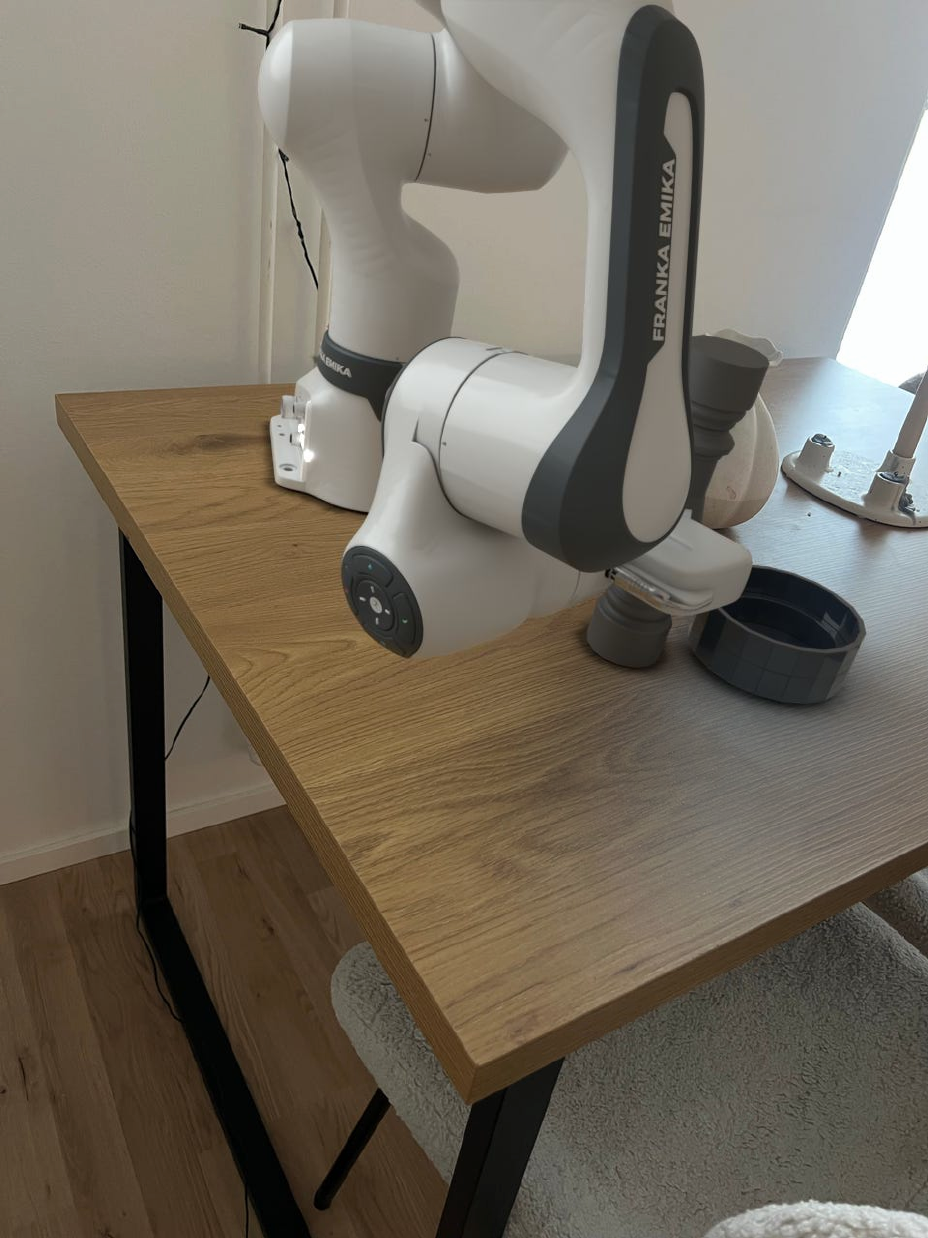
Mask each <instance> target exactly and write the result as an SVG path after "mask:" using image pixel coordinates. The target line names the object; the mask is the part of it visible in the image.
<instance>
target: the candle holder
mask: <svg viewBox="0 0 928 1238" xmlns="http://www.w3.org/2000/svg"><path fill="white" fill-rule="evenodd" d="M770 364H771V362H770V361H769V358H768V357H767V356H765V355H764V354H763V353H762V352H760V351H759V350H757V349H755V348H752V347H751V346H748V345H746V344H744V343H740V342H737V341H735V340H732V339H727V338H724V337H720V336H715V335H705V334H700V335H692V346H691V363H690V397H691V409H692V420H693V432H694V445H695V468H694V478H693V484H692V489H691V493H690V497H689V500H688V503H687V506H686V508H685V509H692V514H691V519H692V520H694V521H696V522H698V523H700V524H702V525H703V521H704V520H703V519H704V512H705V505H706V504H705V503H706V496H707V492H708V488H709V486H710V483H711V481H712V479H713V476H714V473H715V470H716V467H717V465H718V462H719V461H720V460H721V459H722V458H723V457H724V456H725V457H726V456H728V455H729V454H730V453H731V451H733V449H734V448H735V445H736V442H735V440H734V437H733V435H732V434H731V433H730V430H732V429H734V427H735V426H736V425H737V424H738V423H739V422H741V421H742V420H743V419H744V418H745V417H746V415H747V411H751V409H752V408H753V407H754V406H755V403H756V400H757V397H758V396H759V392H760V390H761V387H762V385H763V382H764V379H765V377H766V374H767V373H768V369H769V366H770ZM672 626H673V620H672V615H670V614H667V613H664V612H662V611H660V610H658V609H656V608H654V607H652V606H650V605H649V604H647V603H645V602H644V601H642V600H640V599H639V598H637V597H635V596H634V595H632V594H630V593H629V592H627V591H625V590H624V589H622V588H621V587H619V586H617V585H616V584H614V583H612V584H611V585H610V586H609V587H608V588H607V589H606V590H605V591H604V592H602V593H601V594H600V596H599V597H598V599H597V600H596V603H595V606H594V609H593V613H592V615H591V618H590V621H589V625H588V627H587V629H586V641H587V643H588V644H589V646H590V648H591V649H592V651H594V652H595V653H596V654H598V655H599V656H600V657H601V658H602V659H605V660H607V661H609V662H611V663H613V664H615V665H618V666H621V667H627V668H633V669H636V668H639V669H640V668H648V667H649V666H653V665H655V664H656V663H657V661H658V660H659V658H660V657H661V654H662V652H663V648H664V647H665V644H666V641H667V639H668V637H669V634H670V631H671V629H672Z"/></svg>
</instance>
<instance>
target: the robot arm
mask: <svg viewBox="0 0 928 1238" xmlns="http://www.w3.org/2000/svg"><path fill="white" fill-rule="evenodd" d="M413 1H414V2H415V3H416V4H417V5H418V6H419V7H421V8H422V9H423V10H424V11H426V12H427V13H428V14H430V15H431V16H433V18H435V20H437V21H438V22H439V23H440V24H441V26H442V27H443V29H442V30H440V31H438V32H432V31H431V32H423V31H418V30H413V29H408V28H403V27H397V26H394V25H393V26H392V25H388V24H387V25H386V24H381V23H377V22H376V23H375V22H372V21H368V20H367V21H366V20H361V19H356V18H350V17H326V18H322V17H320V18H305V19H303V18H302V19H291V20H289V21H288V22H287V23H285V24H284V25H282V27H281V28H280V29H279V30H278V31H277V32H276V34H274V36H273V38H272V39H271V41H270V42H269V44H268V46H267V47H266V49H265V52H264V54H263V57H262V60H261V63H260V66H259V72H258V77H257V78H258V80H257V97H258V105H259V109H260V115H261V117H262V120H263V123H264V126H265V128H266V131H267V132H268V134H269V136H270V137H271V139H272V141H273V143H274V144H275V145H276V147H277V148H278V149H279V150H280V151H281V153H283V154H284V156H286V157H287V158H288V159H289V160H290V161H291V162H292V163H293V164H294V166H295V167H296V168H297V169H298V171H300V173H301V174H302V175H303V177H304V179H305V180H306V182H307V183H308V184H309V186H310V187H311V189H312V191H313V192H314V194H315V197H316V198H317V200H318V203H319V205H320V206H321V210H322V213H323V215H324V218H325V221H326V224H327V229H328V233H329V238H330V245H331V256H332V257H331V261H332V262H331V264H332V266H331V268H332V269H331V270H332V271H331V272H332V273H331V299H330V310H329V311H330V313H329V322H328V324H327V325H326V328H327V329H326V330H325V331H324V333H323V337H322V340H321V341H320V343H319V348H318V356H317V359H316V366H315V367H314V368H313V369H311V370H310V371H309V372H308V373H306V374H304V375H302V377H300V378H299V379H297V381H296V383H295V389H294V395H288V394H284V395H282V396H281V399H280V414H277V415H274V416H272V417H271V418H270V422H269V436H270V446H271V454H272V455H271V457H272V465H273V474H274V482H275V483H276V485H278V486H281V487H283V488H286V489H289V490H294V491H299V492H301V493H306V494H309V495H311V496H313V497H316V498H318V499H320V500H322V501H324V502H326V503H329V504H331V505H335V506H337V507H340V508H344V509H349V510H353V511H357V512H358V511H359V512H364V513H367V516H366V518H365V520H364V522H363V523H362V525H361V526H360V527H359V528H358V530H357V531H356V532H355V534H354V535H353V537H352V538H351V539H350V541H349V542H348V544H347V545H346V547H345V549H344V551H343V555H342V559H341V563H340V578H341V586H342V589H343V593H344V596H345V600H346V603H347V605H348V607H349V609H350V612H351V613H352V615H353V617H354V618H355V619H356V621H357V623H358V624H359V625H360V626H361V628H362V630H363V631H364V632H365V634H367V635H368V636H369V637H370V638H371V639H372V640H373V641H374V642H375V643H377V644H378V645H380V646H381V647H383V648H384V649H386V650H387V651H390V652H392V653H393V654H395V655H397V656H399V657H401V658H404V659H407V660H430V659H435V658H437V659H438V658H441V657H446V656H449V655H454V654H458V653H461V652H465V651H468V650H470V649H473V648H476V647H479V646H481V645H484V644H487V643H489V642H492V641H494V640H496V639H499V638H501V637H503V636H506V635H507V634H510V633H511V632H513V631H515V630H516V629H518V628H519V627H520V626H521V625H522V624H523V623H524V622H525V621H526V620H535V619H543V618H546V617H550V616H552V615H554V614H557V613H560V612H562V611H564V610H566V609H569V608H571V607H574V606H577V605H579V604H581V603H583V602H586V601H589V600H590V599H593V598H595V597H597V596H599V595H602V594H603V593H604V592H605V590H606V589H607V588H608V587H609V586H610V585H611V584H612V583H614V584H616V585H617V586H619V587H621V588H622V589H624V590H625V591H627V592H629V593H630V594H632V595H634V596H635V597H637V598H639V599H640V600H642V601H644V602H645V603H647V604H649V605H650V606H652V607H654V608H656V609H658V610H660V611H662V612H664V613H667V614H670V615H671V616H675V617H676V616H677V617H686V616H687V617H689V616H693V615H695V614H699V613H703V612H707V611H710V610H714V609H717V608H720V607H723V606H725V605H728V604H730V603H733V602H734V601H736V600H737V599H738V598H739V597H740V596H741V594H742V592H743V590H744V588H745V586H746V583H747V581H748V578H749V575H750V572H751V569H752V565H754V563H753V562H754V561H753V556H752V553H751V551H750V550H749V549H748V548H746V546H744V545H742V544H739V543H738V542H735V541H733V540H732V539H730V538H728V537H726V536H724V535H722V534H721V533H719V532H717V531H715V530H713V529H711V528H709V527H707V526H705V525H704V524H703V523H702V524H700V523H698V522H696V521H694V520H692V519H691V514H692V509H685V508H686V506H687V503H688V500H689V497H690V493H691V489H692V484H693V478H694V468H695V445H694V432H693V420H692V409H691V397H690V363H691V346H692V336H693V330H694V329H693V328H694V317H695V315H694V314H695V299H696V287H697V286H696V285H697V283H696V282H697V272H698V270H697V269H698V257H699V256H698V255H699V243H700V241H699V240H700V225H701V212H702V211H701V209H702V195H703V176H704V159H705V157H704V155H705V133H706V131H705V129H706V128H705V127H706V126H705V125H706V96H705V95H706V94H705V93H706V91H705V89H706V88H705V76H704V66H703V60H702V55H701V51H700V48H699V44H698V42H697V40H696V38H695V35H694V34H693V32H692V31H691V30H690V28H689V27H688V26H686V25H685V23H683V22H682V21H681V20H680V19H678V17H676V16H677V15H676V13H675V8H674V4H673V0H413ZM569 152H570V153H571V154H572V156H573V158H574V159H575V161H576V163H577V166H578V168H579V171H580V174H581V175H582V176H581V177H582V179H583V183H584V187H585V195H586V203H587V224H586V225H587V227H586V249H585V270H584V295H583V317H582V318H583V319H582V320H583V322H582V341H581V342H582V345H581V355H580V360H579V364H578V366H577V367H576V366H573V365H568V364H565V363H561V362H556V361H554V360H553V361H552V360H548V359H545V358H541V357H536V356H532V355H530V354H528V353H526V352H524V351H523V352H522V351H520V350H516V349H513V348H508V347H504V346H500V345H496V344H492V343H486V342H482V341H477V340H473V339H468V338H466V337H462V336H452V329H453V325H454V324H453V323H454V317H455V312H456V307H457V300H458V294H459V288H460V282H461V273H460V267H459V264H458V261H457V258H456V256H455V254H454V253H453V250H452V249H451V248H450V247H449V246H448V244H446V243H445V242H444V241H443V240H442V239H441V238H440V237H438V236H437V235H436V234H435V233H434V232H433V231H431V230H430V229H428V228H427V227H425V226H424V225H423V224H422V223H420V222H418V220H416V219H414V218H413V217H411V216H410V215H409V214H408V213H407V212H406V211H405V210H404V208H403V205H402V191H403V187H404V185H406V184H419V185H427V186H433V187H441V188H447V189H453V190H459V191H467V192H473V193H479V194H486V195H488V194H490V195H491V194H509V193H511V194H512V193H520V192H532V191H533V192H534V191H539V190H540V189H542V188H543V187H544V186H546V185H547V184H548V183H549V182H550V181H551V180H552V179H553V178H554V177H555V176H556V174H557V173H558V172H559V171H560V169H561V168H562V166H563V165H564V163H565V161H566V159H567V157H568V154H569Z"/></svg>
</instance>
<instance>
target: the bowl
mask: <svg viewBox="0 0 928 1238" xmlns="http://www.w3.org/2000/svg"><path fill="white" fill-rule="evenodd" d="M866 636H867V630H866V624H865V620H864V619H863V618H862V617H861V615H860V614H859V612H858V611H857V610H856V609H855V607H854V606H853V605H852V604H850V603H849V602H848V601H847V600H846V599H844V598H843V597H842V596H841V595H839V594H838V593H836V592H835V591H833V590H832V589H830V588H828V587H826V586H824V585H822V584H820V583H819V582H817V581H815V580H813V579H810V578H808V577H805V576H803V575H800V574H798V573H795V572H793V571H788V570H784V569H781V568H776V567H772V566H769V565H768V566H767V565H760V564H752V569H751V572H750V575H749V578H748V581H747V583H746V586H745V588H744V590H743V592H742V594H741V596H740V597H739V598H738V599H737V600H736V601H734V602H733V603H730V604H728V605H725V606H723V607H720V608H717V609H714V610H710V611H707V612H703V613H699V614H695V615H692V617H691V620H690V623H689V625H688V631H687V642H688V644H689V646H690V648H691V649H692V652H693V655H695V657H696V658H697V659H698V660H699V661H700V662H701V663H702V664H703V665H704V667H706V668H707V669H708V670H709V671H711V672H712V673H714V674H715V675H717V676H718V677H719V678H721V679H722V680H724V681H725V682H727V683H729V684H730V685H732V686H734V687H736V688H737V689H740V690H742V691H744V692H747V693H749V694H752V695H754V696H758V697H760V698H764V699H768V700H771V701H777V702H781V703H791V704H801V705H806V704H813V703H820V702H825V701H827V700H829V699H831V698H833V697H834V696H836V695H838V694H839V693H840V692H841V689H842V687H843V686H844V683H845V681H846V679H847V677H848V675H849V672H850V671H851V668H852V666H853V665H854V662H855V659H856V658H857V656H858V653H859V651H860V649H861V647H862V645H863V643H864V640H865V638H866Z"/></svg>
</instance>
